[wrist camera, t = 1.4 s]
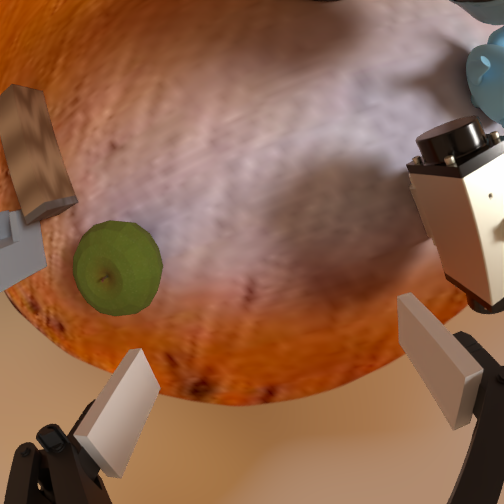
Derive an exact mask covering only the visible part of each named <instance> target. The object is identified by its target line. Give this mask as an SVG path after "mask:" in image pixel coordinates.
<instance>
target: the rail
mask: <svg viewBox="0 0 504 504" xmlns="http://www.w3.org/2000/svg"><path fill="white" fill-rule="evenodd" d="M0 136H1V141H2V145H3V149H4V153H5V157H6V161H7V164H8V168H9V171H10V175H11V178H12V182H13V185H14V188H15V191H16V194H17V197H18V200H19V203H20V206H21V209H22V212H23V214H24V217H25V220H26V223H27V224H30V223H33V222H36V221H39V220H42V219H46V218H49V217H52V216H56V215H59V214H60V213H62V212H63V211H65V210H67V209H68V208H70V207H71V206H73V205H74V204H76V203H78V200H77V198H76V195H75V192H74V190H73V187H72V184H71V182H70V179H69V176H68V173H67V171H66V168H65V165H64V162H63V159H62V156H61V153H60V150H59V147H58V144H57V140H56V137H55V134H54V131H53V127H52V124H51V120H50V117H49V113H48V109H47V106H46V102H45V98H44V94H43V91H40V90H36V89H32V88H28V87H23V86H19V85H14V84H11V85H10V86H9V87H8V88H7V89H6V90H5V91H4V92H3V93H2V94H1V95H0Z"/></svg>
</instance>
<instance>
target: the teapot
mask: <svg viewBox="0 0 504 504" xmlns="http://www.w3.org/2000/svg"><path fill="white" fill-rule="evenodd" d="M466 75H467V81H468V85H469V89H470V91H471V94H472V96H471V102H472V104H473V105H474V106H475V107H476V108H479V107H480V108H481V110H482V111H483V112H484V113H485V114H486V115H487V116H488V117H489V118H490V119H492V120H493V121H495V122H497V123H499V124H501V125H502V127H503V128H504V26H503V27H501V28H499V29H498V30H496V31H494V32H493V33H492V34H491V35H490V36H489V39H488V43H487V44H485V45H480V46H477V47H475V48H474V49H473V50H472V51H471V52H470V54H469V56H468V58H467V62H466Z"/></svg>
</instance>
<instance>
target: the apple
mask: <svg viewBox="0 0 504 504" xmlns="http://www.w3.org/2000/svg"><path fill="white" fill-rule="evenodd" d="M162 269H163V264H162V260H161V255H160V251H159V248H158V246H157V244H156V243H155V241H154V239H153V238H152V236H151V235H150V233H148V232H147V231H146V230H144V229H143V228H142V227H140V226H139V225H138V224H136V223H132V222H121V221H106V222H103V223H100V224H96V225H94V226H93V227H92V228H91V229H89V230H88V231H87V232H86V233H85V234H84V235H83V236H82V238H81V241H80V243H79V245H78V248H77V250H76V252H75V255H74V257H73V275H74V278H75V281H76V284H77V287H78V289H79V291H80V292H81V294H82V295H83V297H84V298H85V300H86V301H87V303H89V304H90V305H91V306H92V307H94V308H95V309H96V310H97V311H99V312H100V313H103V314H108V315H112V316H122V315H131V314H136V313H138V312H139V311H141V310H143V309H144V308H146V307H147V306H149V305H150V303H151V302H152V300H153V298H154V296H155V294H156V293H157V291H158V287H159V284H160V279H161V274H162Z"/></svg>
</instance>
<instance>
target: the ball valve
mask: <svg viewBox="0 0 504 504" xmlns="http://www.w3.org/2000/svg"><path fill="white" fill-rule="evenodd" d="M416 143H417V145H418V147H419V150H420V152H421V154H422V156H421V157H420V156H416V157H414V158H413V159H412V160H413V161H412V162H410V163H408V164H406V166H407V169H408V171H409V178H410V181H411V184H410V186H409V189H410V191H411V194H412V196H413V199H414V201H415V204H416V206H417V209H418V212H419V214H420V217H421V220H422V222H423V225H424V228H425V231H426V234H427V236H428V237H430V238H432V240H433V243H434V245H436V246H437V250H438V253H439V256H440V259H441V263H442V266H443V270H444V273H445V277H446V279H447V280H448V281H449V282H451V283H452V284H454V285H455V287H458V288H459V289H460V290H462V291H463V292H465V293H466V297H467V302H468V305H469V306H470V308H471V309H472V310H474V311H476V312H478V313H481V314H495V313H499V312H502V311H504V136H499V134H498V132H497V131H494V132H491V133H490V134H485V132H484V130H483V127H482V124H481V122H480V120H479V117H478V116H467V117H463V118H460V119H456V120H453V121H450V122H447V123H445V124H442V125H440V126H437V127H435V128H433V129H431V130H429V131H427V132H425V133H423V134H421V135H420V136H418V137H417V138H416Z"/></svg>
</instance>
